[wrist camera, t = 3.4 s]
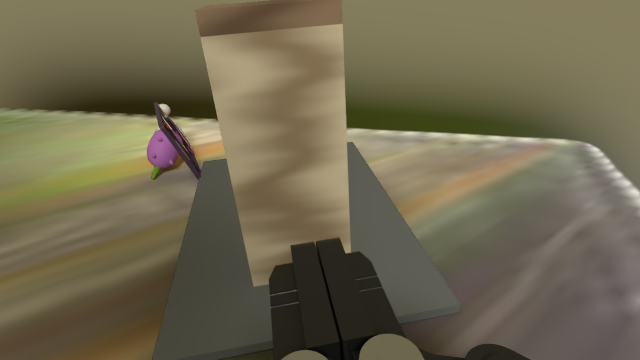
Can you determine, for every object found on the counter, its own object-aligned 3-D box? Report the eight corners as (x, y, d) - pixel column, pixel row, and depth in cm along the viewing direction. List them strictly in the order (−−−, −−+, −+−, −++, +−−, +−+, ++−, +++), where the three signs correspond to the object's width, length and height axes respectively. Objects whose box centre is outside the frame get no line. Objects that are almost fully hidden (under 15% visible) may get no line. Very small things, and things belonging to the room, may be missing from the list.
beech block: (253, 286, 22) (194, 10, 15) (252, 245, 25) (205, 5, 18) (351, 269, 22) (341, -3, 15) (337, 231, 26) (324, -4, 19)
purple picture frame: (170, 120, 32) (162, 97, 39) (115, 152, 31) (118, 122, 38) (211, 178, 35) (197, 147, 43) (163, 207, 35) (157, 170, 42)
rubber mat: (154, 371, 18) (150, 363, 18) (205, 166, 38) (203, 161, 38) (459, 312, 20) (460, 304, 20) (352, 146, 40) (352, 141, 40)
